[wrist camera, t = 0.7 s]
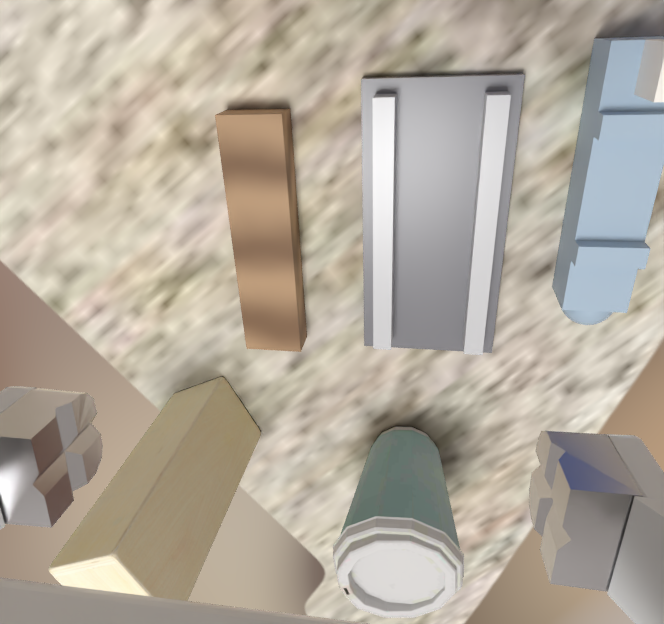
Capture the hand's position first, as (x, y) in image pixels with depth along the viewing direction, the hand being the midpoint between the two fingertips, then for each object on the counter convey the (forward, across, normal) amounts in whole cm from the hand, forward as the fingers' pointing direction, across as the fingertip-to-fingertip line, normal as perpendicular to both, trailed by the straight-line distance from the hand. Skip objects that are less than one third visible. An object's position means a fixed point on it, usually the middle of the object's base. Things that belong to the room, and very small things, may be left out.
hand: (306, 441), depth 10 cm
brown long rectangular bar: (+36, +9, +5) cm, 38 cm away
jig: (+35, -4, +4) cm, 36 cm away
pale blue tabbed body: (+34, -16, 0) cm, 38 cm away
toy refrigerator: (+39, +17, +25) cm, 49 cm away
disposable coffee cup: (+38, -3, +28) cm, 47 cm away
